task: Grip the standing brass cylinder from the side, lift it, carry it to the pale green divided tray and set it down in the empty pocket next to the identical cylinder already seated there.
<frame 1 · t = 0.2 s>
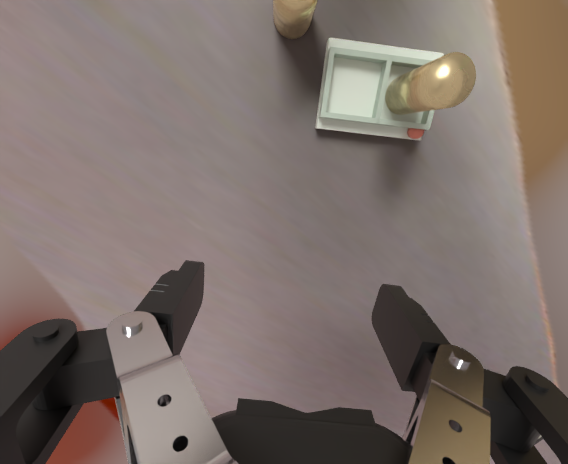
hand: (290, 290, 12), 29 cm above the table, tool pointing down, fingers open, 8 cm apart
billet: (292, 16, 33), on the table
pale green divided tray: (373, 93, 36), on the table
seated billet: (403, 95, 34), point 1 cm above the table, touching pale green divided tray
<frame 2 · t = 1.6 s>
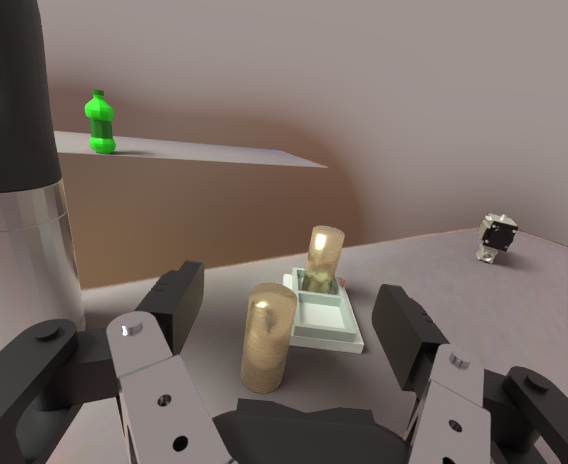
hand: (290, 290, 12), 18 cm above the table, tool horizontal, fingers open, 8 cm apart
billet: (261, 374, 29), on the table
pale green divided tray: (315, 312, 40), on the table
plastic bottle: (103, 153, 121), on the table
pneumatic valve: (480, 259, 70), on the table
seated billet: (315, 290, 43), point 1 cm above the table, touching pale green divided tray
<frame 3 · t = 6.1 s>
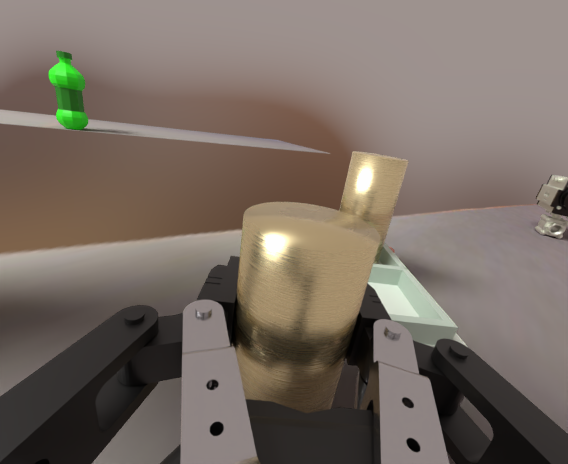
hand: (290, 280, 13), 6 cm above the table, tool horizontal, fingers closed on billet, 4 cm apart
billet: (273, 421, 13), on the table, touching gripper
pale green divided tray: (357, 295, 24), on the table
plastic bottle: (74, 129, 104), on the table
pneumatic valve: (543, 234, 54), on the table
seated billet: (352, 262, 26), point 1 cm above the table, touching pale green divided tray
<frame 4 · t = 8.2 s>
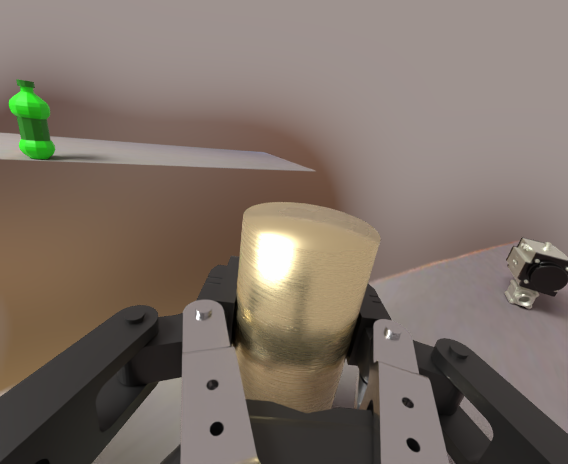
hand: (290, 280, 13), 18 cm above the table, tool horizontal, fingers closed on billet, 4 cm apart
billet: (273, 422, 13), point 12 cm above the table, touching gripper
plastic bottle: (39, 158, 100), on the table
pneumatic valve: (513, 301, 51), on the table
when the fingers open (9 cm above the table, at t = 10.2 s): billet drops 1 cm, resting on pale green divided tray.
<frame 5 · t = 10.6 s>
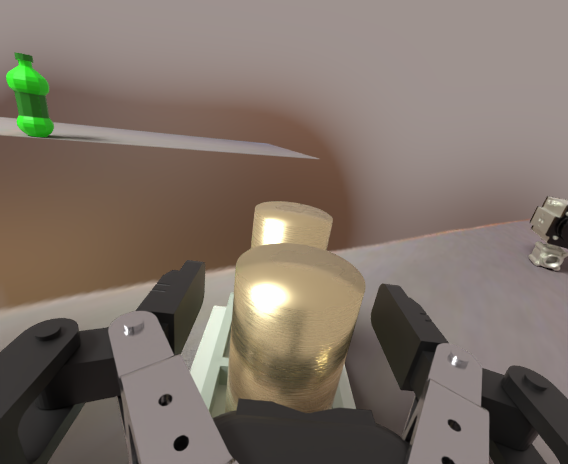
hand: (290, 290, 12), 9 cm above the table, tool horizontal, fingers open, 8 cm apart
billet: (269, 449, 13), point 2 cm above the table, touching pale green divided tray
pale green divided tray: (268, 404, 17), on the table
plastic bottle: (38, 136, 97), on the table
pneumatic valve: (538, 265, 47), on the table
seated billet: (272, 346, 19), point 1 cm above the table, touching pale green divided tray
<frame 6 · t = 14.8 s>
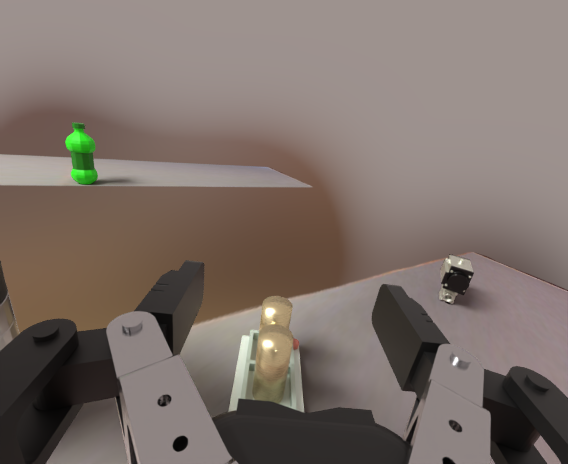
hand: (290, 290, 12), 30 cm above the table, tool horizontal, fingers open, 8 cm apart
billet: (268, 391, 39), point 2 cm above the table, touching pale green divided tray
pale green divided tray: (267, 378, 43), on the table
plastic bottle: (85, 183, 123), on the table
pneumatic valve: (443, 299, 73), on the table
seated billet: (269, 355, 45), point 1 cm above the table, touching pale green divided tray
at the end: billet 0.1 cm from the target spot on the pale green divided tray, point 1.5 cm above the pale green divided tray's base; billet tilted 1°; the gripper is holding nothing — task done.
